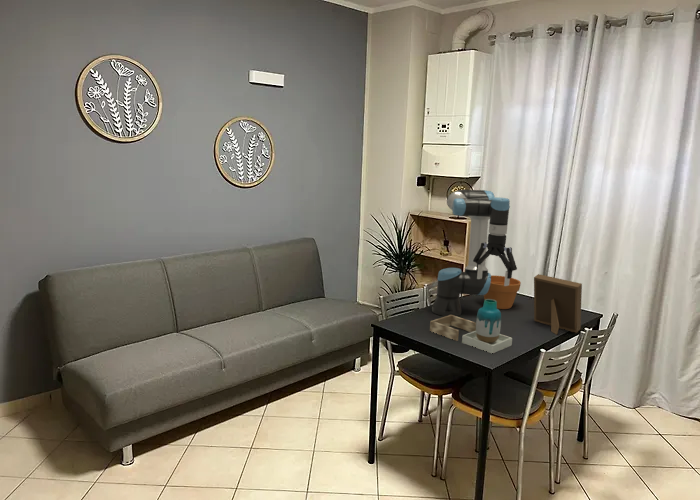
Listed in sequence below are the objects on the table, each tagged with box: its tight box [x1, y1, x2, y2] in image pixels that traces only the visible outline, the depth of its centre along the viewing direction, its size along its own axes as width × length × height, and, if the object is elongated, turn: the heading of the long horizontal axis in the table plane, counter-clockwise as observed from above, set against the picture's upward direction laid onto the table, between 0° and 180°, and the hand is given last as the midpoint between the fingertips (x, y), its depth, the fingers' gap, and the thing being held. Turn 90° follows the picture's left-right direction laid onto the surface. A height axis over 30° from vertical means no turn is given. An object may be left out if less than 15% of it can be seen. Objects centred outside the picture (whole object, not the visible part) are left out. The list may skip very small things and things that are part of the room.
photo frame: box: [533, 273, 583, 335], centre depth 257 cm, size 15×22×25 cm
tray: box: [461, 331, 513, 354], centre depth 235 cm, size 16×16×4 cm
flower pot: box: [483, 275, 522, 310], centre depth 292 cm, size 21×21×15 cm
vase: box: [475, 299, 502, 343], centre depth 233 cm, size 11×11×19 cm
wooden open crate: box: [429, 315, 476, 342], centre depth 248 cm, size 16×16×5 cm
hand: (492, 282), depth 229 cm, fingers open, 13 cm apart
